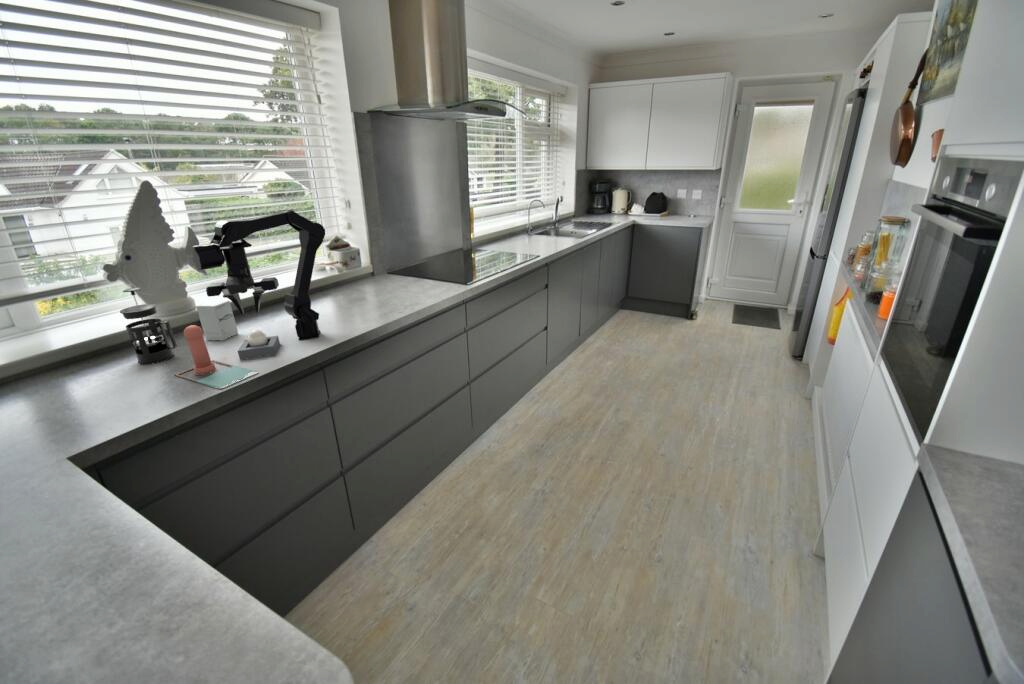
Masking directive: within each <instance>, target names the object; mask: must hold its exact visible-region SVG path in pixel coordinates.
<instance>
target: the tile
mask: <svg viewBox="0 0 1024 684" xmlns="http://www.w3.org/2000/svg"><path fill="white" fill-rule="evenodd" d="M253 371H254V372H255V371H256V370H252V369H248V368H246V367H245V368H244V367H242V366H237V365H233V366H232V367H230V368H229V367H228V368H225V369H222V370H219V371H218V373H217V372H214V373H212V374H213V375H212V374H209V375H208V377H207V376H205V377H203V379H202V378H200V379H197V380H198V381H197V382H199V383H198V384H200V383H202V384H201V385H203V384H205V385H204V386H207V385H208V386H207V387H210V386H213V387H217V388H221V387H223V386H224V385H225V386H226V385H227V384H228V385H229V384H231V383H232V381H233V380H234V381H235V380H236V381H237V380H241V379H243V378H244V377H245V375H246V374H247V375H248V373H250V372H253ZM247 375H246V376H247ZM236 381H235V382H236ZM197 382H196V383H197ZM213 387H212V388H213Z"/></svg>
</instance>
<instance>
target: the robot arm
mask: <svg viewBox="0 0 1024 684" xmlns="http://www.w3.org/2000/svg"><path fill="white" fill-rule="evenodd" d="M286 225H288V226H290V228H292V229H293V230H295V231H297V232H298V241H299V244H300V253H299V256H298V257H299V258H298V264H297V269H296V275H295V278H294V279H295V280H294V285H293V289H292V291H290V293H287V292H286V293H285V295H284V296H285V297H284V298H285V299H284V302H283V304H282V305H283V306H284V311H286V313H287V314H288V315H289V316H292V319H293V320H295V323H296V324H295V326H294V329H295V333H296V335H297V338H298V341H302V340H308V339H310V340H311V339H317V338H319V337H320V335H321V330H320V327H319V323H318V320H319V319H320V318H319V317H320V313H319V312H317V311H315V310H314V309H312V300H311V297H310V288H311V282H312V277H313V271H314V266H315V261H316V255H317V251H318V250H319V248H320V247H321V246H322V244H323V241H324V239H325V236H326V229H325V227H324V226H323V225H322V224H321V223H320V222H313V221H312V220H309V219H308V218H306V217H304V216H302V215H300V214H298V213H297V212H296V211H294V210H288V209H286V210H282V211H279V212H275V213H270V214H266V215H262V216H258V217H254V218H253V217H252V218H248V219H232V220H231V219H227V220H226V219H224V220H219V221H217V222H216V223H215V226H214V228H213V229H214V234H213V235H212V238H211V240H210V242H209V244H204V245H192V247H191V248H192V261H193V263H194V266H195V267H196V269H197V270H198V271H205V270H210V269H215V268H222V267H223V265H224V264H225V265H226V272H227V278H226V281H225V282H213V283H211V284H209V285H208V286H207V287H206V288H205V292H206V295H207V297H217V296H218V297H219V296H220V295H221V294H223V295H222V298H224V299H226V298H227V299H228V300H229V301H230V302H232V303H233V304H234V306H235V307H236V309H237V310H238V311H239V313H241V315H243V316H244V315H245V310H244V307H243V303H242V300H241V297H240V294H245V293H247V292H248V290H252V289H253V292H252V296H253V300H254V301H253V302H254V308H255V311H256V313H257V314H259V313H260V308H261V307H260V305H261V300H262V299H261V298H262V295H263V294H265V292H266V291H274V290H275V291H276V290H277V289H278V288H279V285H280V284H279V280H278V278H276V277H275V276H274V277H264V278H262V279H261V281H255V280H254V278H253V276H252V273H251V269H250V268H251V266H250V264H249V260H248V257H247V253H246V249H245V248H250V247H252V245H253V244H252V243H250V242H248V241H247V240H246V239H245V238H247V237H249V236H251V235H252V234H254V233H257V232H258V233H259V232H261V231H265V230H266V231H267V230H269V229H273V228H278V227H282V226H286Z"/></svg>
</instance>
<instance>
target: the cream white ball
mask: <svg viewBox="0 0 1024 684" xmlns="http://www.w3.org/2000/svg"><path fill="white" fill-rule="evenodd" d="M267 337H268V336H267V334H266V333H265V332H263V331H262V330H259V329H254V330H252V331H250V333H249V335H247V340H248V341H249V345H250V347H257V346H264V345H266V344H268V341H267Z"/></svg>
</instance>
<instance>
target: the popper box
mask: <svg viewBox="0 0 1024 684" xmlns="http://www.w3.org/2000/svg"><path fill="white" fill-rule="evenodd" d="M266 337H267V341H268V344H266V345H264V346H257V347H250V345H249V341H248V339H244V340H243V342H242V344H241V345H240V347H238V350H237V354H238V358H239V360H240V359H243V360H247V359H246V358H250V359H254V358H253V357H257V358H260V357H259V356H264V357H268V356H267V355H271V356H275V355H276V354H277V352H278V350H279V347H280V344H281V342H280V337H279V335H272V336H266ZM277 349H278V350H277Z"/></svg>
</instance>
